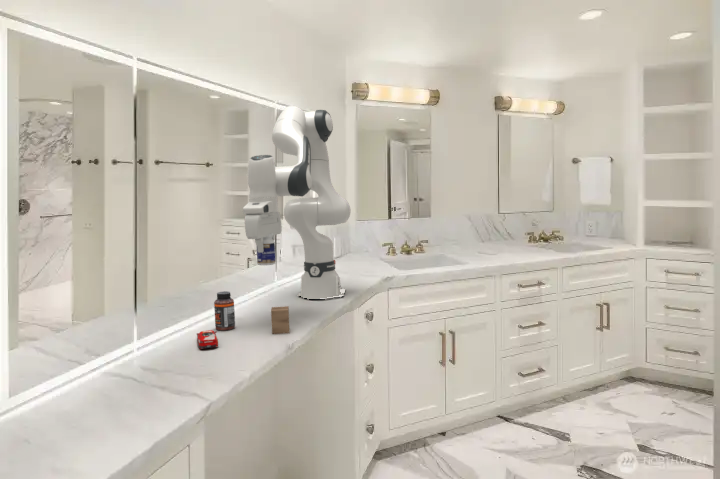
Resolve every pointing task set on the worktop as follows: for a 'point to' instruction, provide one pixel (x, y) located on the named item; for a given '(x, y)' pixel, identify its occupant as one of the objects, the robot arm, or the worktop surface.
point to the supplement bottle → (224, 311)
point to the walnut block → (280, 320)
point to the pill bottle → (267, 251)
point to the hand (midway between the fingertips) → (265, 250)
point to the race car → (207, 339)
